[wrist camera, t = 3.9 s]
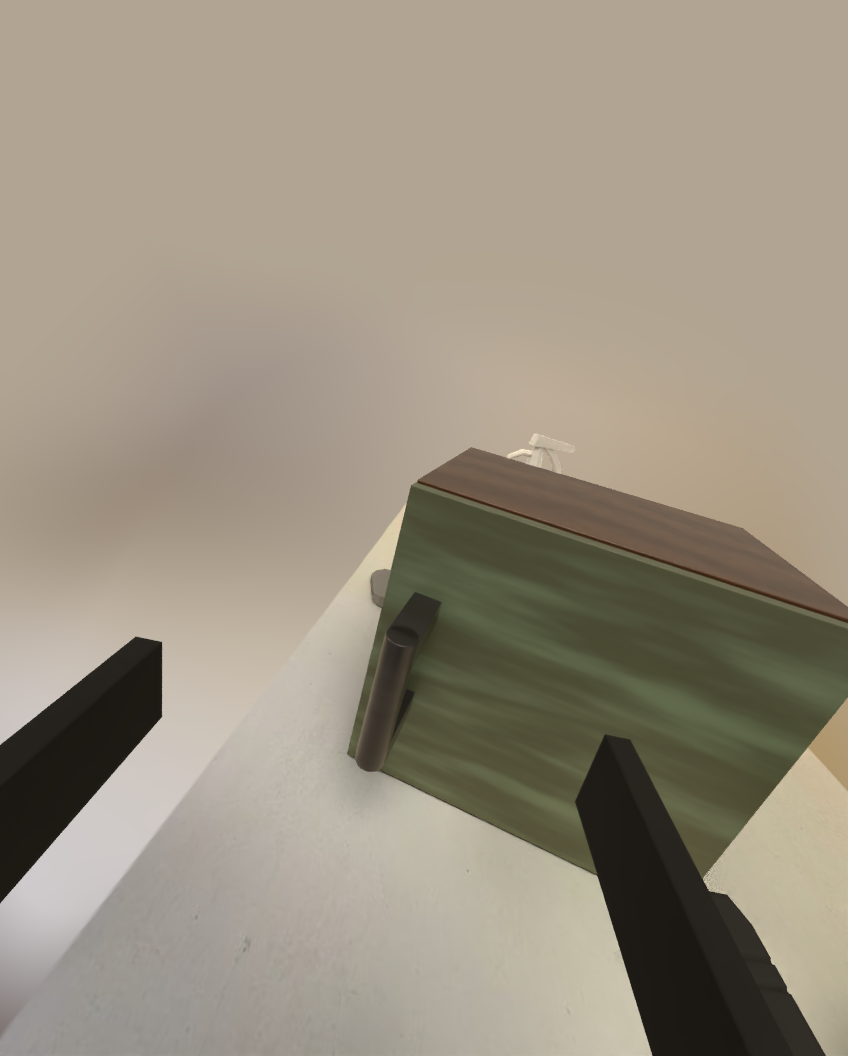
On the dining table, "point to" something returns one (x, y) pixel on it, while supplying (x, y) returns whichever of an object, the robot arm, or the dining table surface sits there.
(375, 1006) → the dining table surface
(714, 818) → the cupboard door
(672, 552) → the cupboard
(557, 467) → the fire extinguisher
